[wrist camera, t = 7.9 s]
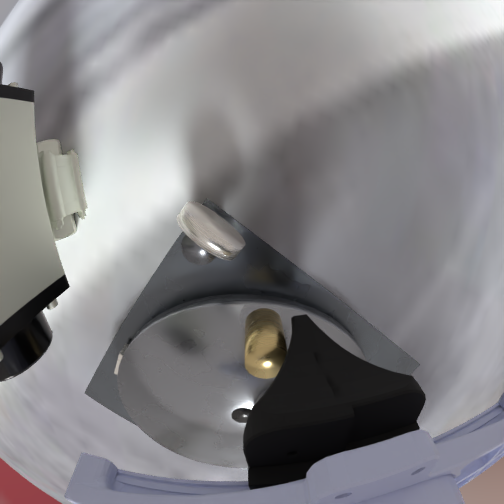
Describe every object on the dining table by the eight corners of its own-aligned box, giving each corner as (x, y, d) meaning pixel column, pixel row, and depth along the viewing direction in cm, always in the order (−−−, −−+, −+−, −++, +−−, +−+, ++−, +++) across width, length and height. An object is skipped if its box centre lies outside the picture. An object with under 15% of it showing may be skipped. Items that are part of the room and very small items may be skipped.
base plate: (416, 360, 17) (420, 364, 17) (262, 470, 22) (262, 474, 21) (208, 196, 13) (206, 198, 13) (87, 388, 18) (84, 393, 17)
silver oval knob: (246, 228, 13) (245, 255, 10) (225, 254, 14) (217, 289, 10) (199, 194, 13) (179, 207, 9) (180, 221, 13) (154, 244, 9)
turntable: (410, 349, 16) (438, 388, 12) (283, 468, 20) (287, 503, 16) (162, 236, 13) (130, 267, 9) (107, 414, 18) (91, 450, 14)
